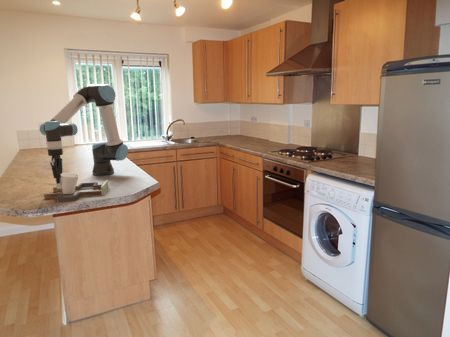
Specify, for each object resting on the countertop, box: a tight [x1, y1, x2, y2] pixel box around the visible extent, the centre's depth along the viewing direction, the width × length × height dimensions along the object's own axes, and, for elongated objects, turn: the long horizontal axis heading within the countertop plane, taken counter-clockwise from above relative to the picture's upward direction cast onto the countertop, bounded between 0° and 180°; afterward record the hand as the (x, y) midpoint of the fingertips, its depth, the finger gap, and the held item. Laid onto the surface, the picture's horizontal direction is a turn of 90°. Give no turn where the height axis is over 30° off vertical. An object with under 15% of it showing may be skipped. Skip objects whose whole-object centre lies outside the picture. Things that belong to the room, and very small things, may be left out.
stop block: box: [100, 179, 110, 196], centre depth 197 cm, size 15×1×5 cm, turn 9°
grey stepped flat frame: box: [43, 184, 103, 200], centre depth 195 cm, size 15×31×2 cm, turn 99°
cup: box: [60, 172, 80, 195], centre depth 193 cm, size 10×10×11 cm
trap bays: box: [56, 181, 99, 203], centre depth 195 cm, size 30×15×2 cm, turn 9°
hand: (59, 188), depth 193 cm, fingers closed
